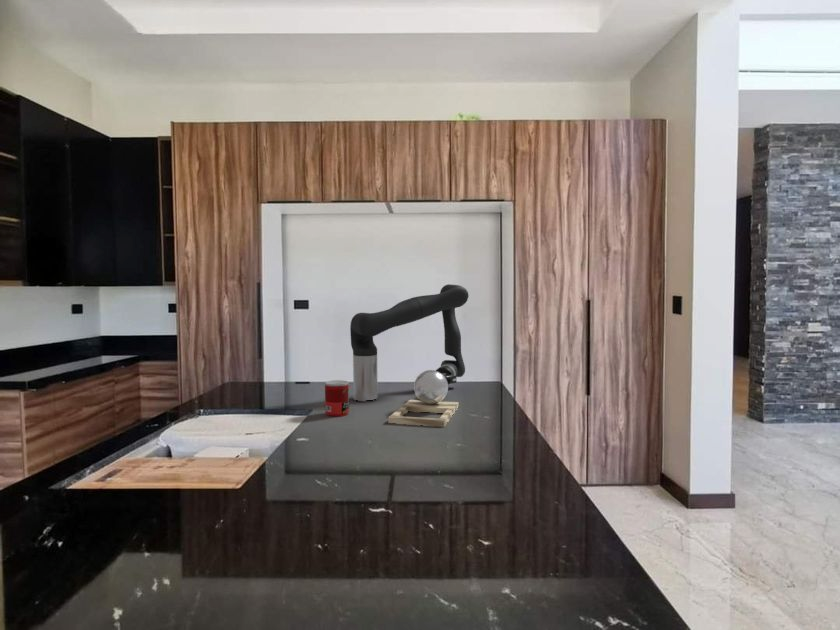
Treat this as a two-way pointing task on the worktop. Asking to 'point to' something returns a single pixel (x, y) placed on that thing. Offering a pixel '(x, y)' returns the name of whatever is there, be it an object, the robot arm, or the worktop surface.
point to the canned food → (336, 398)
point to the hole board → (419, 406)
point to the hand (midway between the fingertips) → (435, 382)
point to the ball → (431, 387)
